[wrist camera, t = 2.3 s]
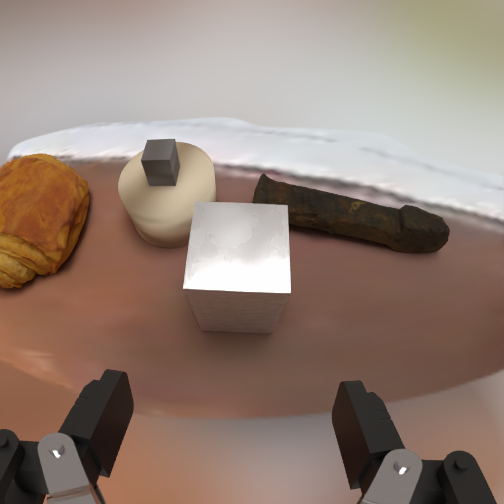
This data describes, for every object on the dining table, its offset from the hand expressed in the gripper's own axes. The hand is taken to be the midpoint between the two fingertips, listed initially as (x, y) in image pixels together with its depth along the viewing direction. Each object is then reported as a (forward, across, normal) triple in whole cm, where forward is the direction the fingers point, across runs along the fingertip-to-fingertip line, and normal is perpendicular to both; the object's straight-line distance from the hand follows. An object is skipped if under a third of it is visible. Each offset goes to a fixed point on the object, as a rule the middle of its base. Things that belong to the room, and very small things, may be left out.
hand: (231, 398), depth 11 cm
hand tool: (+20, -10, -2) cm, 22 cm away
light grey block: (+14, 0, +3) cm, 14 cm away
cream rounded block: (+20, +6, -3) cm, 21 cm away
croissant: (+19, +22, -1) cm, 29 cm away
